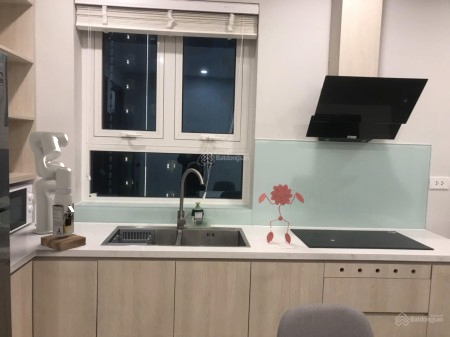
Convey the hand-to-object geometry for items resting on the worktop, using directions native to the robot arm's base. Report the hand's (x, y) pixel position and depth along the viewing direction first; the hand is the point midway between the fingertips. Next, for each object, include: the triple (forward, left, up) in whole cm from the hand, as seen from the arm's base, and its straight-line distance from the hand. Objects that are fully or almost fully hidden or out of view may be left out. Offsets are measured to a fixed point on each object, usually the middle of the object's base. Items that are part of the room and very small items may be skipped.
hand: (63, 224), depth 181 cm
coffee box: (0, 0, -5) cm, 5 cm away
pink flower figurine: (+92, +73, -11) cm, 118 cm away
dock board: (0, 0, -11) cm, 11 cm away
